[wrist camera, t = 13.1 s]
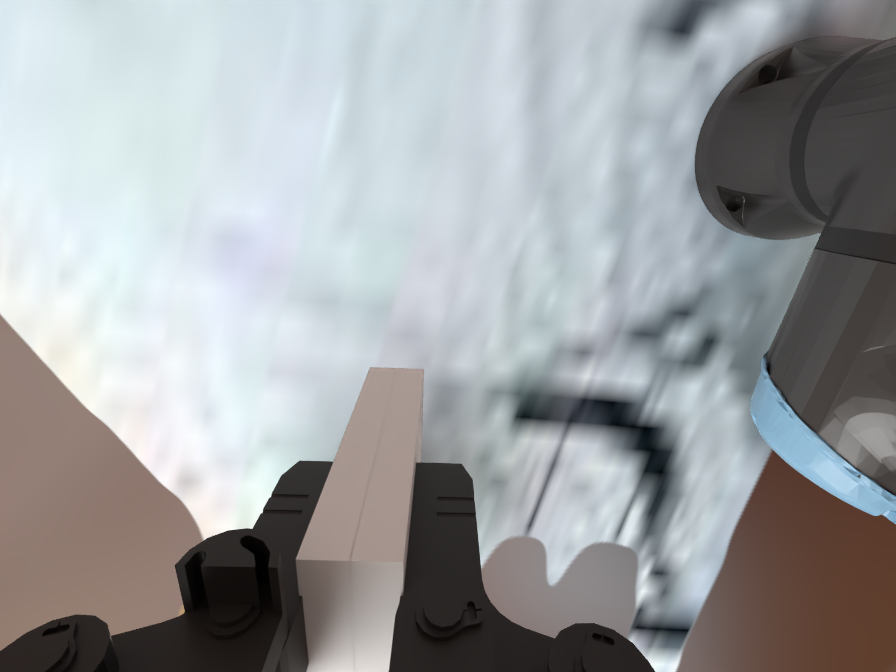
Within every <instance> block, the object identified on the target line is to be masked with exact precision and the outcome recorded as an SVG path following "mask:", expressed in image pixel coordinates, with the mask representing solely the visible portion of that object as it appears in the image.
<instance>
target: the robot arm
mask: <svg viewBox="0 0 896 672" xmlns="http://www.w3.org/2000/svg"><path fill="white" fill-rule="evenodd" d="M695 175H696V181H697V186H698V190H699V193H700V196H701V198H702V200H703V202H704V204H705V206H706V207H707V209H708V210H709V212H710V213H711V214H712V215H713V216H714V217H715V218H716V219H717V220H718V221H719V222H720V223H721V224H723V225H724V226H725V227H727V228H729V229H731V230H733V231H735V232H737V233H740V234H743V235H747V236H752V237H758V238H763V239H772V240H785V239H795V238H800V237H804V236H809V235H813V234H817V233H821V232H822V233H821V235H820V237H819V240H818V242H817V244H816V247H815V248H814V250H813V252H812V254H811V257H810V259H809V261H808V264H807V266H806V268H805V271H804V273H803V275H802V278H801V280H800V282H799V285H798V287H797V289H796V292H795V294H794V296H793V298H792V301H791V303H790V305H789V307H788V309H787V312H786V314H785V316H784V318H783V320H782V323H781V325H780V327H779V329H778V332H777V334H776V336H775V338H774V340H773V343H772V345H771V347H770V349H769V350H768V351H767V353H766V354H765V355H764V356H763V358H762V361H761V374H760V376H759V379H758V382H757V384H756V387H755V390H754V392H753V395H752V398H751V403H750V410H751V416H752V418H753V421H754V423H755V425H756V426H757V427H758V431H759V433H760V434H761V436H762V437H763V439H764V440H765V441H766V442H767V444H768V445H769V446H770V447H771V448H772V449H773V450H774V451H775V452H776V453H777V454H778V455H779V456H780V457H781V458H782V459H784V460H785V461H786V462H787V463H788V464H789V465H791V466H792V467H793V468H794V469H796V470H797V471H798V472H800V473H801V474H802V475H804V476H805V477H807V478H808V479H809V480H811V481H812V482H814V483H815V484H817V485H818V486H820V487H821V488H823V489H824V490H826V491H828V492H829V493H831V494H832V495H834V496H836V497H838V498H840V499H841V500H843V501H845V502H846V503H849V504H850V505H852V506H854V507H856V508H858V509H860V510H862V511H865V512H867V513H869V514H871V515H874V516H878V515H881V514H882V515H884V516H885V517H887V518H888V519H889V520H891V521H892V522H893V523H895V524H896V37H895V38H891V39H888V40H885V41H884V40H874V39H863V38H852V37H841V36H823V37H816V38H810V39H806V40H802V41H799V42H796V43H793V44H790V45H788V46H785V47H782V48H780V49H777V50H775V51H772V52H770V53H768V54H766V55H764V56H762V57H760V58H759V59H757V60H755V61H754V62H752V63H751V64H749V65H748V66H747V67H745V68H744V69H743V70H742V71H741V72H739V73H738V74H737V75H736V76H735V77H734V78H733V79H732V80H731V81H730V82H729V83H728V84H727V86H726V87H725V88H724V89H723V90H722V92H721V93H720V94H719V96H718V97H717V99H716V100H715V102H714V103H713V105H712V107H711V108H710V110H709V112H708V114H707V116H706V118H705V121H704V123H703V126H702V128H701V131H700V134H699V138H698V142H697V147H696V155H695ZM423 377H424V369H404V368H374V367H370V369H369V372H368V374H367V377H366V379H365V382H364V384H363V387H362V390H361V392H360V395H359V397H358V400H357V403H356V405H355V408H354V410H353V413H352V415H351V418H350V421H349V423H348V426H347V428H346V431H345V433H344V436H343V439H342V441H341V444H340V446H339V449H338V452H337V454H336V457H335V459H334V462H325V461H299V462H297V463H296V464H295V465H294V466H293V467H291V468H290V469H289V470H288V471H287V472H285V473H284V474H283V475H282V476H281V478H280V479H279V481H278V483H277V485H276V487H275V489H274V490H273V492H272V496H271V498H269V500H268V501H267V503H266V505H265V507H264V509H263V513H261V514H260V516H259V518H258V520H257V522H256V524H255V525H254V527H253V529H248V528H247V529H238V530H229V531H226V532H223V533H220V534H218V535H215V536H212V537H209V538H207V539H206V540H204V541H203V542H201V543H199V544H198V545H196V546H195V547H193V548H192V549H190V550H189V551H188V552H187V553H186V554H185V555H184V556H183V557H182V558H181V559H180V561H179V562H178V563H177V564H176V565H175V569H176V573H177V577H178V582H179V587H180V591H181V596H182V600H183V604H184V609H185V613H184V614H182V615H180V616H179V617H176V618H173V619H170V620H168V621H165V622H162V623H158V624H155V625H151V626H147V627H143V628H139V629H136V630H132V631H129V632H125V633H121V634H117V635H113V636H111V635H110V632H109V629H108V625H107V623H105V622H103V621H102V620H100V619H99V618H98V617H96V616H91V615H73V616H69V617H64V618H60V619H56V620H52V621H50V622H48V623H46V624H44V625H42V626H40V627H38V628H36V629H34V630H32V631H29V632H27V633H26V634H24V635H22V636H21V637H20V638H18V639H17V640H16V641H14V642H13V643H11V644H10V645H8V646H7V647H6V648H4V649H3V650H1V651H0V672H306V671H307V672H655V671H654V669H653V668H652V666H651V665H650V663H649V662H648V660H647V659H646V658H645V657H644V656H643V655H642V653H641V652H640V651H639V650H638V649H637V648H636V646H635V645H634V644H633V643H632V642H630V641H629V640H628V639H626V638H625V637H623V636H622V635H620V634H619V633H617V632H616V631H614V630H612V629H609V628H606V627H603V626H600V625H597V624H595V623H581V624H574V625H572V626H570V627H567V628H565V629H563V630H561V631H560V632H559V634H558V635H557V637H556V638H555V639H554V638H551V637H549V636H546V635H543V634H540V633H537V632H534V631H531V630H529V629H525V628H523V627H521V626H519V625H517V624H515V623H513V622H511V621H510V620H508V619H507V618H506V617H505V616H503V615H502V614H501V613H499V611H498V610H497V609H496V608H495V607H494V606H493V604H492V603H491V602H490V600H489V598H488V596H487V594H486V593H485V590H484V586H483V582H482V575H481V564H480V554H479V543H478V533H477V522H476V512H475V501H474V490H473V480H472V478H471V477H470V475H469V474H468V472H467V471H466V470H465V468H464V467H463V465H462V464H449V463H421V454H422V418H423Z"/></svg>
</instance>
